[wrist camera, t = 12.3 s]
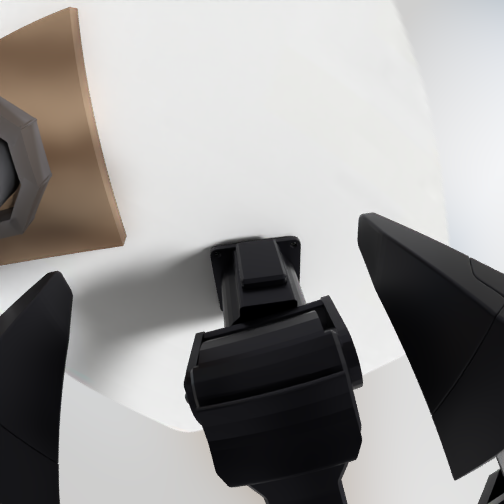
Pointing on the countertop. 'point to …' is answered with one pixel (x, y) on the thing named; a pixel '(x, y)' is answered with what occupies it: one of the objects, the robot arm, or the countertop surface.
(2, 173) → the lens
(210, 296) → the countertop surface
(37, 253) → the mount
